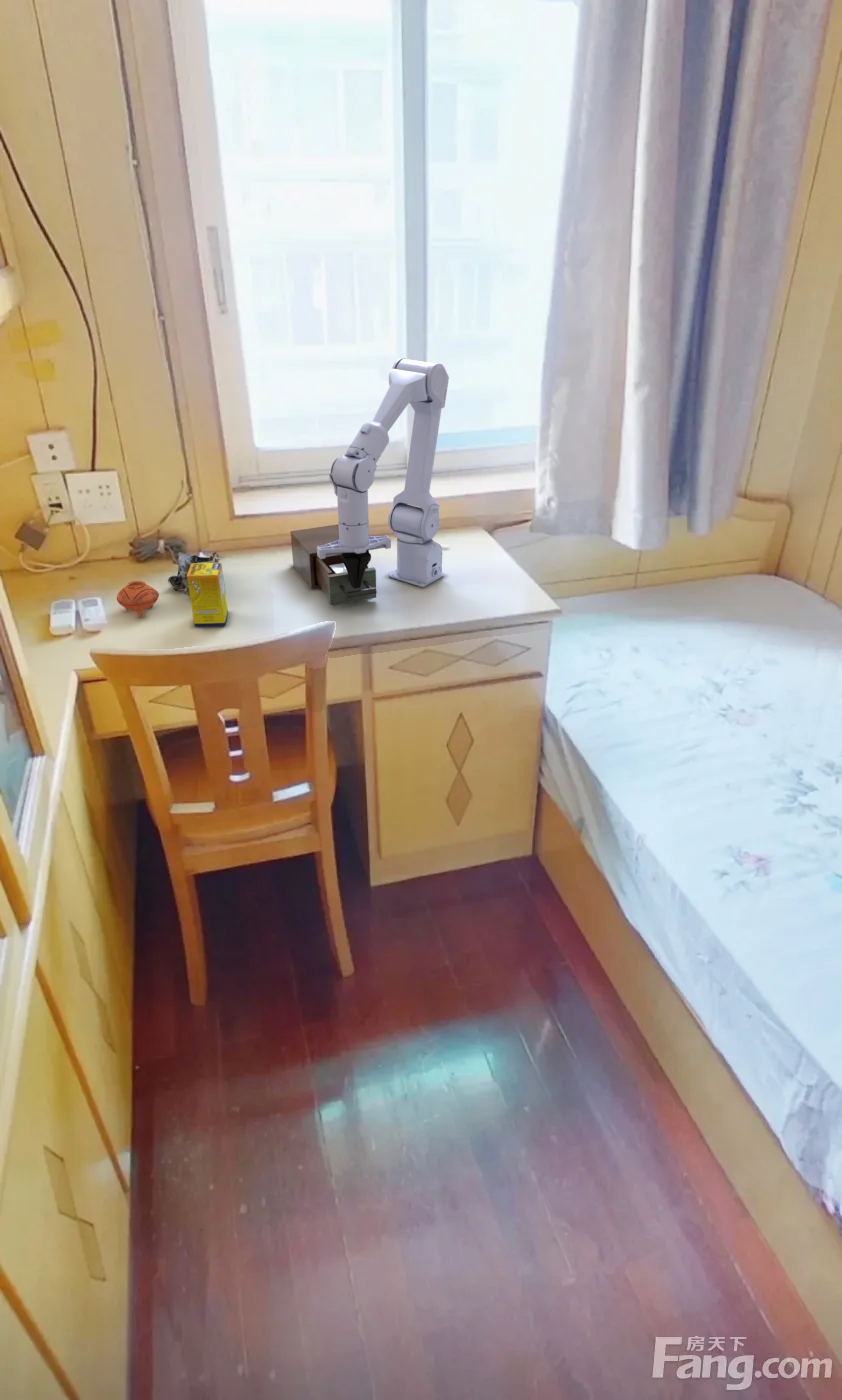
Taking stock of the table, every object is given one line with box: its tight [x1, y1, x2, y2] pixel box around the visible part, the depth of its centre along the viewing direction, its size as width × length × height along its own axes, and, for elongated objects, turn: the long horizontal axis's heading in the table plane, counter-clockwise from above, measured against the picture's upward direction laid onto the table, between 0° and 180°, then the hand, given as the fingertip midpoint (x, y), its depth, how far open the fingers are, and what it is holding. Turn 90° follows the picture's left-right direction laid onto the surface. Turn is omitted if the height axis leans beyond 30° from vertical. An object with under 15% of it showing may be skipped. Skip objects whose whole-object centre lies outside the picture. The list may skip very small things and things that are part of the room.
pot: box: [116, 580, 160, 619], centre depth 164 cm, size 8×8×7 cm
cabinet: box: [290, 523, 339, 590], centre depth 180 cm, size 14×11×8 cm
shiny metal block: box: [329, 563, 347, 574], centre depth 171 cm, size 6×4×4 cm
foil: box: [167, 551, 223, 598], centre depth 173 cm, size 12×11×15 cm
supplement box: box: [187, 562, 229, 628], centre depth 160 cm, size 6×6×11 cm
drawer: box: [313, 555, 378, 607], centre depth 169 cm, size 18×10×6 cm, turn 24°
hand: (355, 586), depth 165 cm, fingers closed
